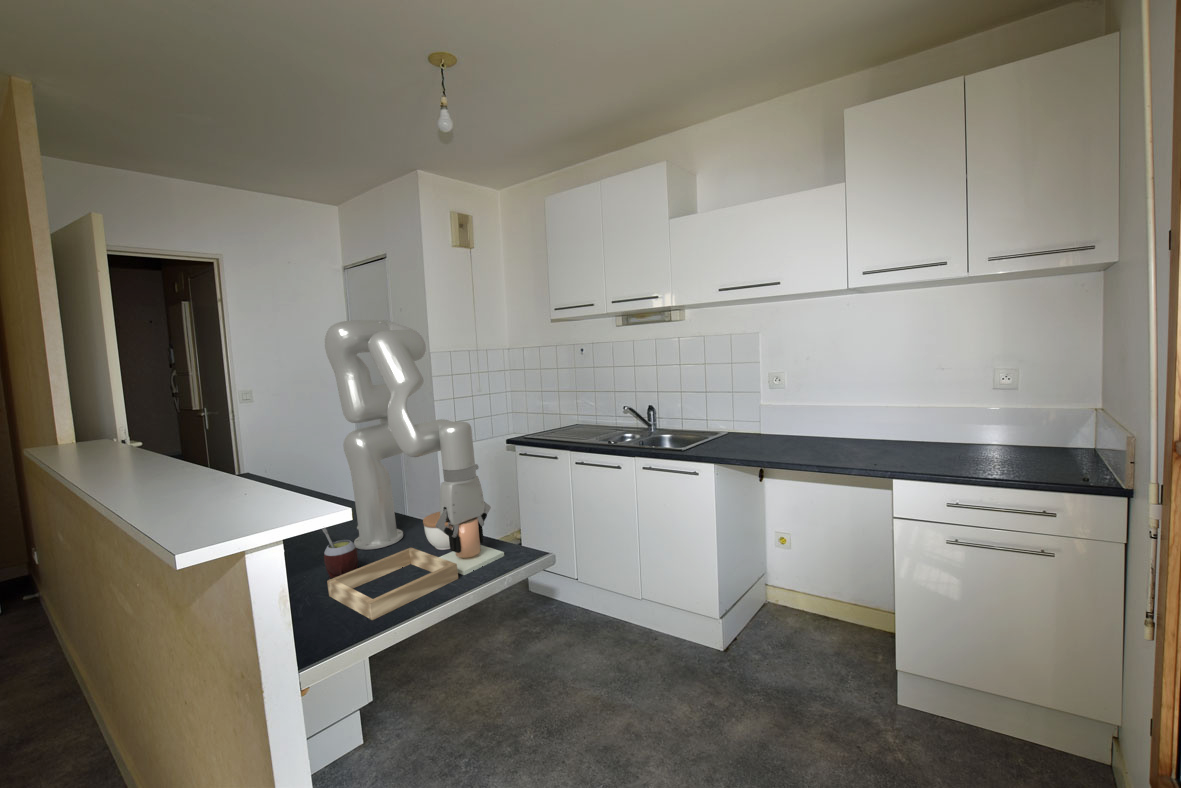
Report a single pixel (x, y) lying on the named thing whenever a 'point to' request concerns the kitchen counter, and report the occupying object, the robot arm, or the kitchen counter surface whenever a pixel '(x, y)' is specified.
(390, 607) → the frame
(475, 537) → the terracotta pot
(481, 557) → the sage tile
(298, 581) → the kitchen counter surface
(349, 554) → the mate gourd
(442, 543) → the lidded jar
